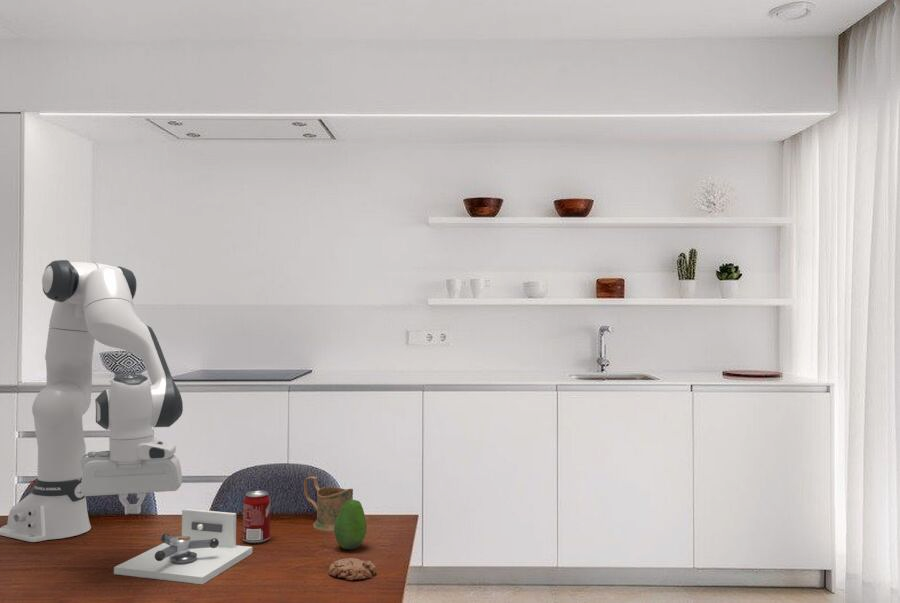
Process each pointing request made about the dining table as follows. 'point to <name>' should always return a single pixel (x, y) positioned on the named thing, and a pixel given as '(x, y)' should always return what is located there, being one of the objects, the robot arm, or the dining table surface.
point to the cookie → (352, 569)
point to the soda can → (256, 517)
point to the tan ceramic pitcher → (327, 504)
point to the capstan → (182, 548)
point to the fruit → (350, 525)
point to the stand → (208, 559)
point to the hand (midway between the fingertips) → (132, 513)
